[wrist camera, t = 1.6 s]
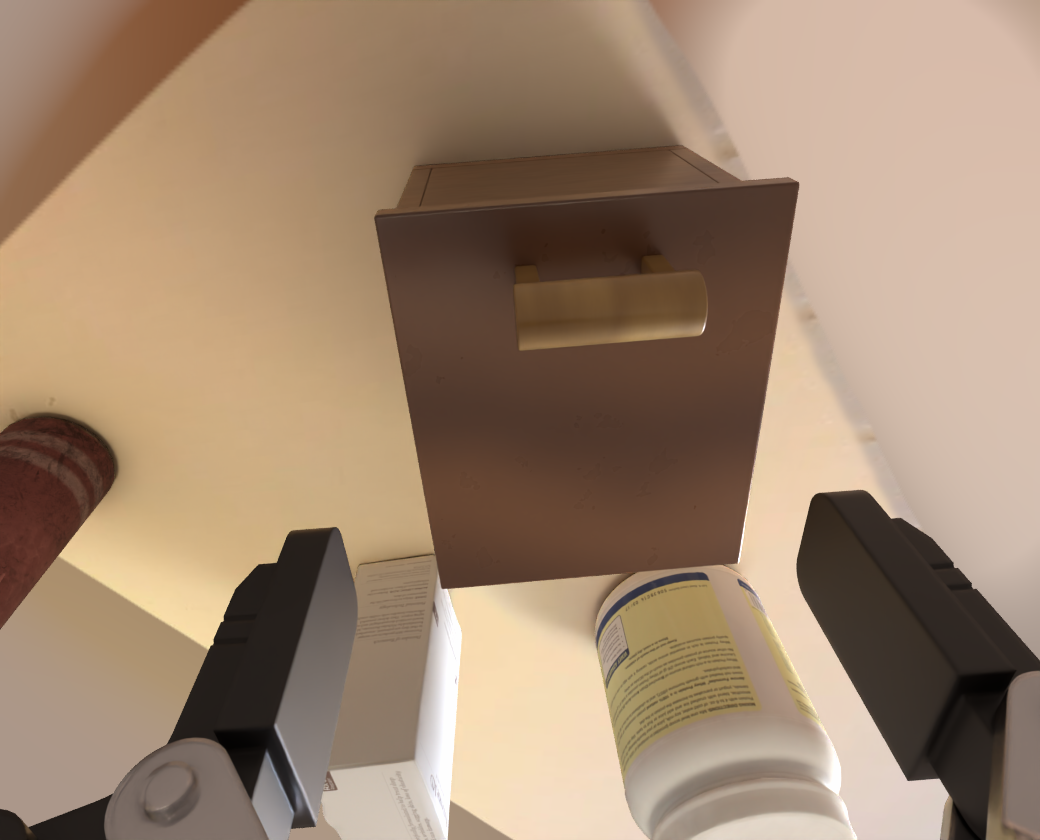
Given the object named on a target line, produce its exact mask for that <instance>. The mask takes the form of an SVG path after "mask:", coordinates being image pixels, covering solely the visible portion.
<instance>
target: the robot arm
mask: <svg viewBox="0 0 1040 840" xmlns="http://www.w3.org/2000/svg"><path fill="white" fill-rule="evenodd" d="M797 578H798V582H799V586H800V589H801V592H802V594H803V596H804V598H805V600H806V602H807V604H808V605H809V607H810V609H811V611H812V613H813V614H814V616H815V618H816V620H817V621H818V623H819V625H820V627H821V628H822V630H823V632H824V634H825V635H826V637H827V639H828V641H829V643H830V644H831V646H832V648H833V650H834V651H835V653H836V655H837V657H838V658H839V660H840V662H841V664H842V665H843V667H844V669H845V671H846V673H847V674H848V676H849V678H850V680H851V681H852V683H853V685H854V687H855V688H856V690H857V692H858V694H859V695H860V697H861V699H862V701H863V703H864V704H865V706H866V708H867V710H868V711H869V713H870V715H871V717H872V718H873V720H874V722H875V724H876V726H877V727H878V729H879V731H880V733H881V734H882V736H883V738H884V740H885V741H886V743H887V745H888V747H889V748H890V750H891V752H892V754H893V756H894V757H895V759H896V761H897V763H898V764H899V766H900V768H901V770H902V771H903V773H904V775H905V777H906V778H907V780H908V781H914V780H926V779H938V778H939V779H940V780H941V782H942V783H943V785H944V787H945V788H946V790H947V792H948V793H949V797H948V799H947V801H946V803H945V806H944V811H943V819H942V828H941V836H940V840H1040V660H1039V659H1038V658H1037V657H1036V656H1035V655H1034V654H1033V652H1031V650H1030V649H1029V648H1028V647H1027V646H1026V645H1025V643H1024V642H1023V641H1022V640H1021V639H1020V638H1019V637H1018V636H1017V634H1016V633H1015V632H1014V631H1013V630H1012V629H1011V628H1010V626H1009V625H1008V624H1007V623H1006V622H1005V621H1004V620H1003V619H1002V617H1001V616H1000V615H999V614H998V613H997V612H996V611H995V609H994V608H993V607H992V606H991V605H990V604H989V603H988V601H986V599H985V598H984V597H983V596H982V595H981V594H980V592H979V591H978V590H977V589H973V588H972V583H971V582H970V581H969V580H968V579H967V578H966V577H965V575H964V574H963V573H962V572H961V571H960V570H959V569H958V568H954V565H953V562H952V561H951V560H950V558H949V557H948V556H947V555H946V554H945V553H944V552H943V550H942V549H941V548H940V547H939V546H938V545H937V544H936V542H935V541H934V540H933V539H932V538H931V537H929V536H928V535H926V534H924V533H923V532H921V531H920V530H918V529H917V528H915V527H914V526H912V525H911V524H909V523H908V522H906V521H905V520H903V519H902V518H894V519H891V518H890V517H889V516H888V515H887V513H886V512H885V511H884V510H883V509H882V507H881V506H880V505H879V504H878V503H877V501H876V500H875V499H874V498H873V497H872V496H871V495H870V494H869V493H868V492H867V491H864V490H853V491H840V492H826V493H817V494H816V495H814V497H813V498H812V500H811V503H810V507H809V511H808V515H807V519H806V523H805V528H804V532H803V536H802V540H801V545H800V549H799V553H798V557H797ZM357 620H358V602H357V594H356V589H355V585H354V581H353V578H352V574H351V570H350V566H349V562H348V558H347V554H346V551H345V547H344V543H343V539H342V536H341V533H340V531H339V529H338V528H336V527H332V528H319V529H305V530H293V531H291V532H289V534H288V535H287V538H286V540H285V543H284V545H283V548H282V551H281V553H280V556H279V558H278V561H277V563H270V564H259V565H258V566H257V567H256V568H255V569H254V570H253V571H252V572H251V573H250V574H249V575H248V576H247V577H246V578H245V579H244V581H243V582H242V583H241V584H240V585H239V586H238V587H237V588H236V589H235V591H234V594H233V596H232V598H231V601H230V603H229V605H228V607H227V610H226V612H225V614H224V621H223V622H221V624H220V626H219V628H218V630H217V633H216V635H215V637H214V644H213V645H212V646H210V649H209V651H208V653H207V656H206V658H205V660H204V663H203V665H202V667H201V669H200V672H199V674H198V676H197V679H196V681H195V683H194V686H193V688H192V690H191V692H190V695H189V697H188V699H187V702H186V704H185V706H184V709H183V711H182V713H181V715H180V718H179V720H178V722H177V724H176V727H175V729H174V731H173V734H172V736H171V738H170V740H169V741H168V743H167V745H165V746H163V747H161V748H159V749H157V750H156V751H154V752H152V753H151V754H149V755H148V756H146V757H145V758H144V759H143V760H141V761H140V762H139V763H138V764H137V765H135V766H134V767H133V769H132V770H130V772H129V773H128V774H127V775H126V776H125V777H124V778H123V780H122V781H121V782H120V784H119V785H118V787H117V788H116V790H115V792H114V793H113V794H111V795H109V796H107V797H105V798H103V799H101V800H98V801H96V802H94V803H91V804H88V805H86V806H83V807H80V808H78V809H75V810H72V811H70V812H67V813H65V814H62V815H59V816H57V817H54V818H51V819H49V820H46V821H44V822H41V823H38V824H36V825H33V826H31V827H27V826H26V824H25V823H24V822H23V821H22V820H21V819H20V818H19V817H18V816H17V815H16V814H15V813H12V812H10V811H8V810H2V809H0V840H288V838H289V834H290V830H291V829H293V828H305V827H316V823H317V818H318V813H319V808H320V804H321V799H322V794H323V789H324V784H325V779H326V775H327V770H328V765H329V760H330V755H331V750H332V746H333V741H334V736H335V731H336V726H337V721H338V716H339V712H340V707H341V702H342V697H343V692H344V687H345V682H346V678H347V673H348V668H349V663H350V658H351V653H352V648H353V644H354V639H355V634H356V629H357Z"/></svg>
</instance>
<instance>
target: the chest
mask: <svg viewBox="0 0 1040 840" xmlns="http://www.w3.org/2000/svg"><path fill="white" fill-rule="evenodd" d="M736 181H741V180H739V179H738V178H736V177H734V176H733V175H731V174H729V173H728V172H726V171H724V170H723V169H721V168H719V167H718V166H716V165H714V164H713V163H711V162H709V161H708V160H706V159H704V158H703V157H701V156H699V155H698V154H696V153H694V152H693V151H691V150H689V149H687V148H686V147H684V146H683V145H679V146H666V147H653V148H641V149H628V150H615V151H602V152H589V153H577V154H564V155H551V156H538V157H526V158H513V159H500V160H487V161H474V162H462V163H449V164H436V165H423V166H414V168H413V170H412V173H411V175H410V177H409V180H408V182H407V184H406V187H405V189H404V191H403V194H402V196H401V198H400V201H399V203H398V205H397V207H396V208H407V207H420V206H432V205H445V204H458V203H470V202H483V201H496V200H508V199H521V198H534V197H546V196H559V195H571V194H584V193H597V192H609V191H622V190H635V189H647V188H660V187H673V186H685V185H698V184H710V183H723V182H736Z"/></svg>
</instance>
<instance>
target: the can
mask: <svg viewBox="0 0 1040 840" xmlns="http://www.w3.org/2000/svg"><path fill="white" fill-rule="evenodd" d="M113 480H114V467H113V461H112V458H111V456H110V454H109V452H108V450H107V448H106V446H105V445H104V444H103V443H102V442H101V441H100V440H99V439H98V438H97V437H96V436H95V435H94V434H92V433H91V432H89V431H88V430H86V429H85V428H83V427H82V426H80V425H77V424H75V423H72V422H70V421H67V420H63V419H57V418H50V417H41V418H30V419H23V420H20V421H18V422H16V423H13V424H11V425H9V426H8V427H7V428H6V429H5V430H4V431H2V432H1V433H0V629H1V628H2V627H3V625H4V624H5V623H6V621H7V620H8V619H9V618H10V616H11V615H12V614H13V612H14V611H15V610H16V608H17V607H18V606H19V605H20V604H21V602H22V601H23V600H24V598H25V597H26V596H27V595H28V593H29V592H30V591H31V589H32V588H33V587H34V586H35V584H36V583H37V582H38V581H39V579H40V578H41V577H42V575H43V574H44V573H45V571H46V570H47V569H48V568H49V567H50V565H51V564H52V563H53V561H54V560H55V559H56V558H57V556H58V555H59V554H60V552H61V551H62V550H63V549H64V547H65V546H66V545H67V544H68V542H69V541H70V540H71V538H72V537H73V536H74V535H75V533H76V532H77V531H78V529H79V528H80V527H81V526H82V524H83V523H84V522H85V520H86V519H87V518H88V517H89V515H90V514H91V513H92V512H93V510H94V509H95V508H96V506H97V505H98V504H99V503H100V501H101V500H102V499H103V497H104V496H105V495H106V494H107V492H108V491H109V490H110V488H111V485H112V483H113Z"/></svg>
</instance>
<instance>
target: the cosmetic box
mask: <svg viewBox="0 0 1040 840" xmlns="http://www.w3.org/2000/svg"><path fill="white" fill-rule="evenodd" d="M354 585H355V589H356V594H357V602H358V620H357V629H356V634H355V639H354V644H353V648H352V653H351V658H350V663H349V668H348V673H347V678H346V682H345V687H344V692H343V697H342V702H341V707H340V712H339V716H338V721H337V726H336V731H335V736H334V741H333V746H332V750H331V755H330V760H329V765H328V770H327V775H326V779H325V784H324V789H323V794H322V799H321V803H322V806H323V815H324V818H325V820H326V821H327V823H328V824H329V825H330V826H332V827H333V828H334V829H336V831H337V832H338V834H339V836H340V838H341V840H448V821H449V804H450V790H451V776H452V762H453V748H454V735H455V721H456V707H457V691H458V676H459V663H460V650H461V637H462V636H461V628H460V626H459V624H458V621H457V618H456V615H455V613H454V609H453V606H452V603H451V600H450V596H449V593H448V589H442V588H441V584H440V579H439V573H438V568H437V562H436V557H435V555H429V556H421V557H414V558H407V559H399V560H392V561H384V562H377V563H370V564H363V565H359V566H358V570H357V574H356V578H355V582H354Z"/></svg>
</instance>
